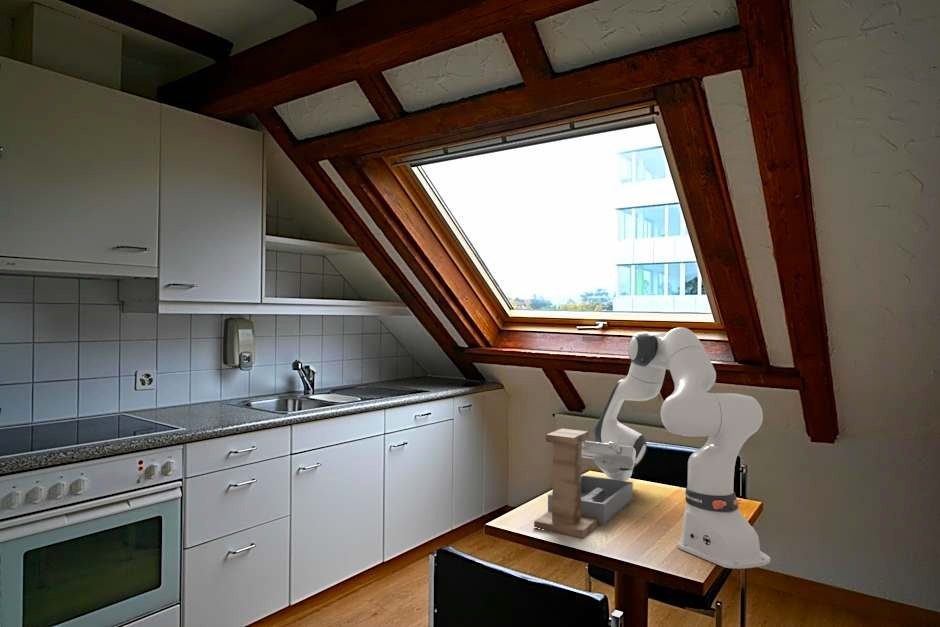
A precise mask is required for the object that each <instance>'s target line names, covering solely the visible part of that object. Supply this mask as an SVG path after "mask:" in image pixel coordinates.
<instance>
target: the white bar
mask: <svg viewBox="0 0 940 627" xmlns="http://www.w3.org/2000/svg"><path fill="white" fill-rule="evenodd" d="M604 498H605V489H604V488H596V489H595V490H593V491H592V492H590V493H589V494H587V495H586V496H585V497H583V498H582V497H581V499H583V500H588V501H594V502H600V501H602V500H603V499H604Z"/></svg>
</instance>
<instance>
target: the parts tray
mask: <svg viewBox="0 0 940 627" xmlns="http://www.w3.org/2000/svg"><path fill="white" fill-rule="evenodd" d="M633 487H634V482H633V481H628V480H626V481H620V480H614V479H610V478H608V477H607V478H605V477H599V476H593V475H585V474H581V497H582V498H583V497H585V496H586V495H587V494H589V493H590V492H592V491H593V490H595V489H596V488H604V489H605V498H604V499H603V500H602V501H600V502H594V501H588V500H583V499H581V515H584V516H589V517H594V518H598V526H602V525H604V526H605V524H606V523H607V522H608V523H609V522H610V521H611V520H613V519H614V518H615V517H616V516H617V515H619V514H620V513H621V512H622V511H623V510H624V509H625V508H627V507H628V506H629V505H630V504H631V503H632V502H634V500H633V497H634V496H633V495H634V494H633V493H634V492H633V490H634V488H633ZM552 493H553V491H552V492H550V493H548V494H547V512H549V511H551V510H552ZM627 505H628V506H627ZM626 506H627V507H626ZM621 510H622V511H621ZM620 511H621V512H620ZM619 512H620V513H619ZM615 515H616V516H615ZM614 516H615V517H614ZM613 517H614V518H613ZM612 518H613V519H612ZM608 523H607V524H608ZM607 524H606V525H607Z"/></svg>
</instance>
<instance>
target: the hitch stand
mask: <svg viewBox="0 0 940 627" xmlns="http://www.w3.org/2000/svg"><path fill="white" fill-rule="evenodd" d="M545 436H546V437H545V442H546V443H552V492H553V493H552V492H551V493H552V510H551V511H549V512H548V511H547V512H546V513H544V514H543V515H541V516H539V517H538V518H537V519H535V520H534V522H533V528H534V527H537V528H540V529H544V530H547V531H546V532H549V531H551V533H556V534H559V533H560V534H561V535H564V534H565V536H569V537H573V536H575V537H574V538H578V537H580V539H584V538H585V537H586V536H587V535H588V534H590V533H591V532H592V531H594V529H596V528H597V527H598V526H599V525H598V518H594V517H589V516H584V515H581V475H582V462H583V461H582V459H583V457H582V441H584V440H586V441H587V440H589V430H579V429H571V428H560V429H556V430H553V431H552V432H549V433H547V434H545ZM595 527H596V528H595ZM540 529H539V530H540ZM544 530H543V531H544ZM589 532H590V533H589ZM583 537H584V538H583Z"/></svg>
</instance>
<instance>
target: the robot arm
mask: <svg viewBox="0 0 940 627" xmlns="http://www.w3.org/2000/svg"><path fill="white" fill-rule="evenodd" d="M627 350H628V351H627V352H628V358H629V360H630V361H631V363H630V366H629V370H628V373H627V376H626V377H625V378H622V379H620V380H618V381H617V383H616V384H615V385H614V387H613V389H612V391H611V392H610V395H609V397H608V399H607V402H606V403H605V406H604V409H603V411H602V413H601V416H600V417H599V419H598V420H597V422H596V424H595V425H594V428H593V430H592V432H593V433H592V435H593V437H594V438H593V439H594V440H595V441H591V440H589V441H588V440H587V439H586V440H584V441H582V458H585V459H592V460H594V463H595V464H596V466H598V468H599V469H600V470H601V471H602V472H603V473H604V474H605V476H607V478H608V479H614V480H620V481H628V480H629V479H630V478H631V477H632V474H633V470H634V467H636V466H637V465H639V464H640V463H641V461H642V460H643V459H644V457H645V455H646V453H647V448H648V445H647V440H646V437H645V435H644V434H642V433H640V432H638V431H637V430H635V429H633V428H631V427H628V426H627V425H624V424H623V423H621V422H620V421H619V420H618V418H617V417H618V414H619V412H620V410H621V408H622V406H623V404H624V402H625V401H633V402H635V401H636V402H644V401H649V400H652V399H654V398H656V397H657V396H658V394H660V391H661V389H662V386H663V384H664V380H665V375H666V370H668V371H669V373H670V375H671V378H672V381H673V383H674V390H673V392H672V393H671V394H670V395H669V396H667V397H666V398H665V400H664V401H663V403H662V404H661V407H660V418H661V423H662V425H663V426H664V428H665V429H666V430H667V431H668V432H669V433H670V434H674V435H678V436H679V435H680V436H684V437H708V439H707V441H706V442H705V444H703V446H702V447H701V448H699V449H697V450H695V451H694V452H693V453H691V454H690V456H689V458H688V459H687V460H688V461H687V486H686V487H685V493H684V494H685V502H686V506H685V510H684V513H683V517H682V525H681V531H680V532H681V534H680V539H679V541H678V542H677V548H678V549H680V550H681V551H685V552H687V553H689V554H692V555H694V556H696V557H698V558H701V559H703V560H706V561H708V562H711V563H713V564H715V565H718V566H720V567H722V568H725V569H726V568H727V569H736V570H737V569H751V568H758V567H763V566H765V565H769V564H770V563H771V561H772V560H771V557H770V556H769V555H768V554H766V553H764V552H763V551H761V549H760V548H761V547H760V539H759V535H758V533H757V532H756V530H755V528H754V527H753V526H751V524H750V523H749V522H748V520H747V519H746V517H744V515H743V514H742V512H741V511H740V510H739V508H740V507H739V505H741V504H742V503H741V502H742V499H738V498H737V496H736V492H735V491H734V478H735V466H736V462H737V457H738V455H739V452H740V450H741V449H742V447H743V445H744V444H745V443H746V441H748V439H749V438H750V437H751V436H752V435H754V434H755V433H757V431H759V430H760V427H761V426H762V424H763V420H764V418H763V417H764V416H763V415H764V413H763V409H762V406H761V404H760V403H759V401H758V400H757V399H756V398H754V396H750V395H746V394H741V393H734V392H726V393H725V392H708V391H709V390H710V389H711V388H712V387H713V386H714V385H715V382H716V380H717V372H716V370H715V368H714V365H713V363H712V361H711V359H710V357H709V354H708V352H707V351H706V349H705V347H704V345H703V344H702V342H701V340H700V339H699V338H698V336H697V335H696V334H695V332H693V331H692V330H691V329H689V328H687V327H683V326H681V327H675V328H673V329H671V330H669V331H668V332H661V331H654V332H651V331H650V332H648V331H641V332H635V333H634V334H633V335H632V336H631V338H630V340H629V342H628V349H627Z"/></svg>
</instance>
